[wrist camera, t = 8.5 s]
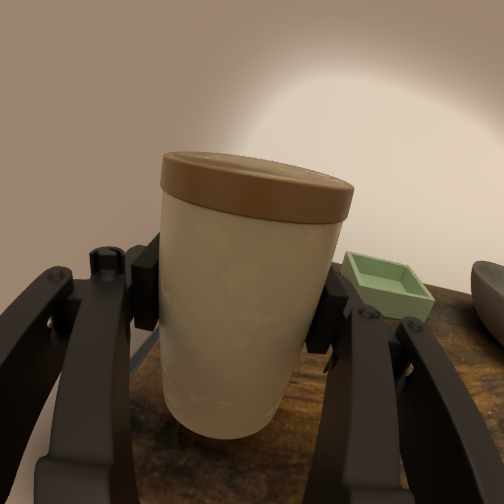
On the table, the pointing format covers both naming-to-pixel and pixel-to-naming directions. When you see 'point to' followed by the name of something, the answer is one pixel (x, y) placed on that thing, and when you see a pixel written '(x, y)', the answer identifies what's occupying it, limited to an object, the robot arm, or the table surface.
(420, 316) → the bin
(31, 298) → the robot arm
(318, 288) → the tea tin
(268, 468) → the table surface
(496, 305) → the bowl
